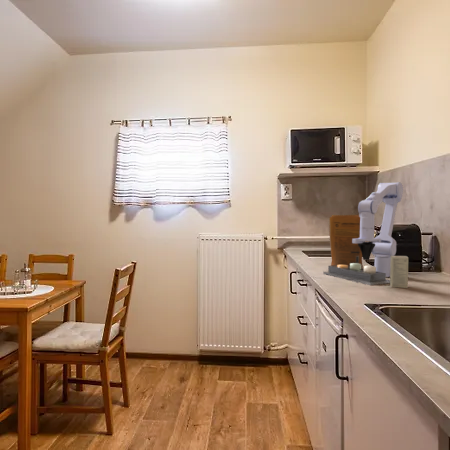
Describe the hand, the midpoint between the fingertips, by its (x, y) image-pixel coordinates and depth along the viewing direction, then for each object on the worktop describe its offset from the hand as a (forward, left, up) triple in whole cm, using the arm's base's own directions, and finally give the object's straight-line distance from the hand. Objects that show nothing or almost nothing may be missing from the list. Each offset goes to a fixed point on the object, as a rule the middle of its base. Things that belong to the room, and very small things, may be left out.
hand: (366, 259), depth 158 cm
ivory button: (0, +2, -6) cm, 6 cm away
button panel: (0, -6, -9) cm, 11 cm away
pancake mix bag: (-21, -33, -9) cm, 40 cm away
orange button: (0, -14, -8) cm, 16 cm away
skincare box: (-3, +14, -9) cm, 17 cm away
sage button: (0, -6, -6) cm, 8 cm away
